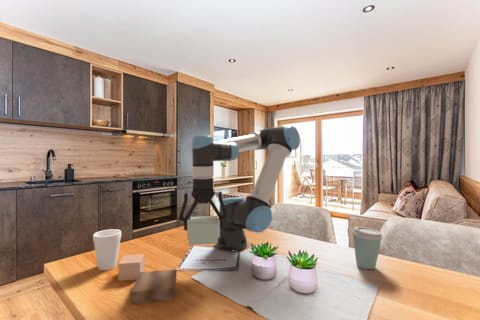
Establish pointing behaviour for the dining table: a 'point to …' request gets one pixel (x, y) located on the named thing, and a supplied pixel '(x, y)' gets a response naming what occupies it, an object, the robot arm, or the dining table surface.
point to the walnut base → (154, 287)
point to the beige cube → (130, 267)
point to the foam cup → (107, 248)
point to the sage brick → (203, 230)
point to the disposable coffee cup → (366, 246)
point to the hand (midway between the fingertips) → (203, 237)
